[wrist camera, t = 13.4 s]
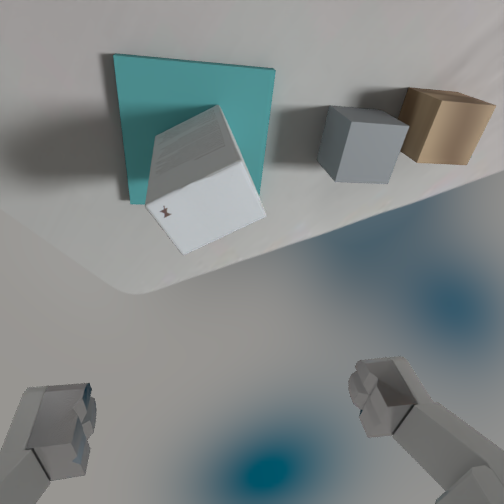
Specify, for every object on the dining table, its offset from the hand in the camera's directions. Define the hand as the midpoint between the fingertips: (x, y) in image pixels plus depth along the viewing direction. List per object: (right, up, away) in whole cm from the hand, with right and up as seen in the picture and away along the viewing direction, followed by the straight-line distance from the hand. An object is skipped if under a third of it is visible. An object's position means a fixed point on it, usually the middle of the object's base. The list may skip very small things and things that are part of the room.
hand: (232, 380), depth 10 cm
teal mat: (-4, +14, +19) cm, 24 cm away
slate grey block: (+10, +15, +22) cm, 28 cm away
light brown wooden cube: (+17, +17, +22) cm, 32 cm away
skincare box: (-4, +13, +19) cm, 23 cm away
